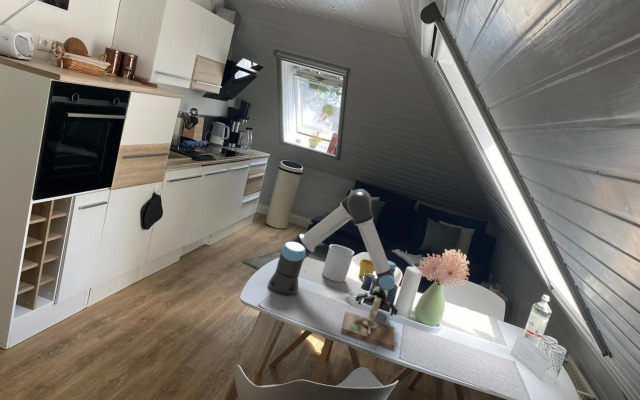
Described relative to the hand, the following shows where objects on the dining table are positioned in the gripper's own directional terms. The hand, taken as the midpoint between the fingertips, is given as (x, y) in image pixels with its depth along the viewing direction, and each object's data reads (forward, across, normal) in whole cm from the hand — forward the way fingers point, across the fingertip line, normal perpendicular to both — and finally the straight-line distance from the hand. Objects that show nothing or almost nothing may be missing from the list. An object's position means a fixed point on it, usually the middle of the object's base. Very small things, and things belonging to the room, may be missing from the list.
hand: (374, 311), depth 228 cm
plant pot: (-76, +11, -11) cm, 78 cm away
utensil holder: (-57, +28, -11) cm, 64 cm away
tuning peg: (+2, 0, -8) cm, 8 cm away
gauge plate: (0, 0, -10) cm, 10 cm away
